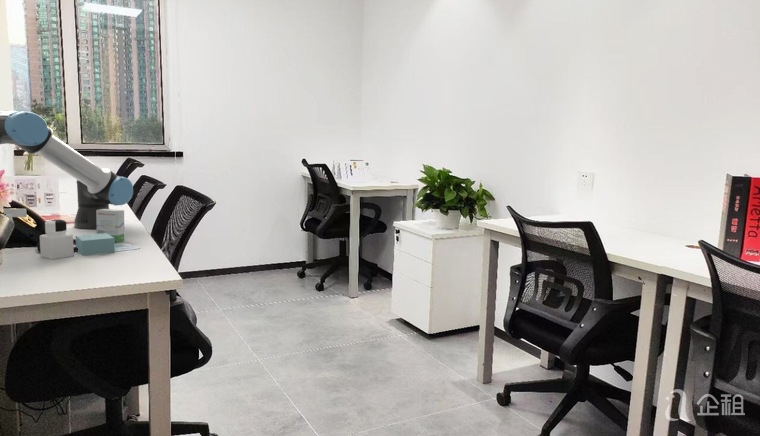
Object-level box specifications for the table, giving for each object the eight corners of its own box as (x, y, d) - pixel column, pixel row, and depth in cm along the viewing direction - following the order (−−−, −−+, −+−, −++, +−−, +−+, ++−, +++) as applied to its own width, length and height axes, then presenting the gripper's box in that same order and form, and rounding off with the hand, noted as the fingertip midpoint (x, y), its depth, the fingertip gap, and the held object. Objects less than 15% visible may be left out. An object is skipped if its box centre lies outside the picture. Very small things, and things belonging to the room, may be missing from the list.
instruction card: (103, 245, 203) (103, 245, 203) (125, 243, 209) (125, 242, 209) (117, 251, 195) (117, 251, 195) (140, 248, 201) (140, 248, 201)
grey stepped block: (62, 253, 190) (60, 217, 189) (74, 256, 187) (72, 220, 185) (40, 256, 184) (38, 220, 182) (52, 259, 181) (50, 222, 179)
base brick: (76, 249, 196) (75, 235, 195) (107, 246, 202) (106, 233, 201) (82, 255, 188) (81, 240, 187) (114, 252, 194) (114, 237, 193)
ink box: (96, 241, 211) (94, 210, 209) (104, 238, 216) (103, 208, 214) (118, 242, 210) (117, 211, 208) (125, 240, 215) (124, 209, 213)
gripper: (-41, 221, 187) (31, 221, 193) (-78, 234, 164) (6, 234, 169) (-42, 199, 186) (30, 199, 192) (-80, 209, 162) (4, 209, 168)
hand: (19, 215), depth 181 cm, fingers open, 13 cm apart
